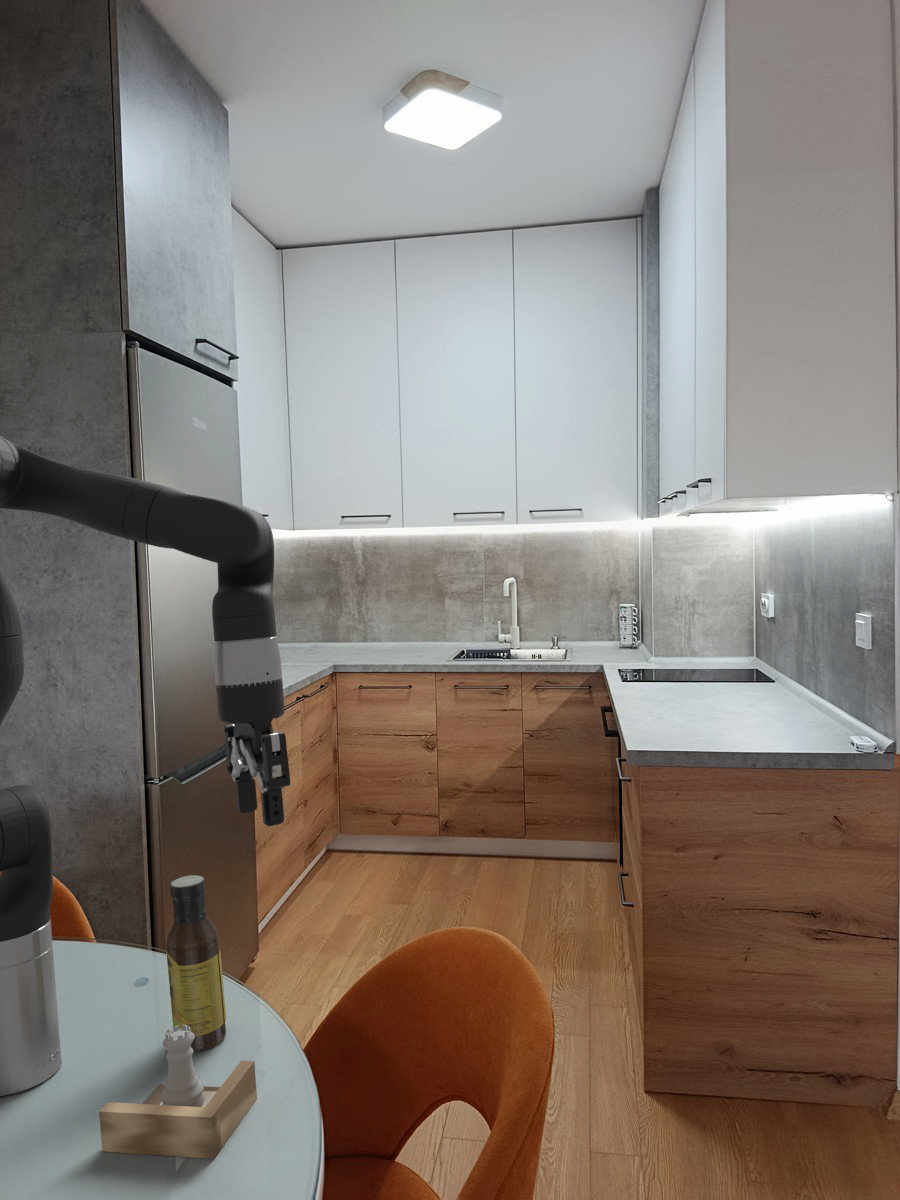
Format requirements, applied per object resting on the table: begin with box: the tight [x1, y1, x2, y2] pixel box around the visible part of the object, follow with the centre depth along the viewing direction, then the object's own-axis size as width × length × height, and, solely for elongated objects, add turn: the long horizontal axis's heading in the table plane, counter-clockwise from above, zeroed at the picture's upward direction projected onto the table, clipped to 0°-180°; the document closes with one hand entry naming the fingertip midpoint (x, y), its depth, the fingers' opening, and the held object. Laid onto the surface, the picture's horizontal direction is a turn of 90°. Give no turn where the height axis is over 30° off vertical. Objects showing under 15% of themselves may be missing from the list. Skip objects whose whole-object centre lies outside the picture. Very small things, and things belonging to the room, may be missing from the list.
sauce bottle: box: [165, 874, 227, 1052], centre depth 105 cm, size 6×6×20 cm
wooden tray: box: [98, 1060, 258, 1160], centre depth 89 cm, size 12×11×4 cm
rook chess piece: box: [161, 1025, 205, 1107], centre depth 90 cm, size 4×4×8 cm
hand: (260, 817), depth 99 cm, fingers open, 8 cm apart
